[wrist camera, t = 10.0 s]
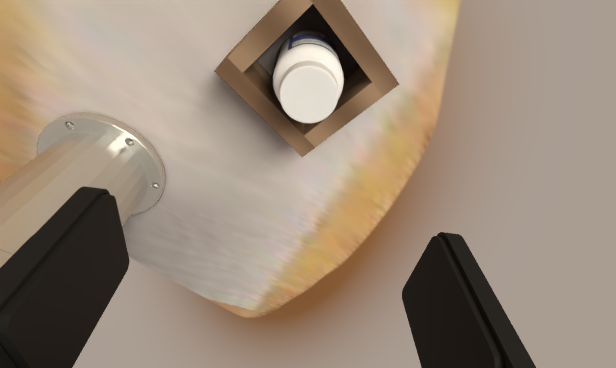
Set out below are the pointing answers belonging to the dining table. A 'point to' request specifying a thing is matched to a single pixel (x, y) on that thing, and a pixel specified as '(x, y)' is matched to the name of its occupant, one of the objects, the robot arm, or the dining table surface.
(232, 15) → the dining table surface
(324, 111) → the pill bottle
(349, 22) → the well
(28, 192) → the robot arm
